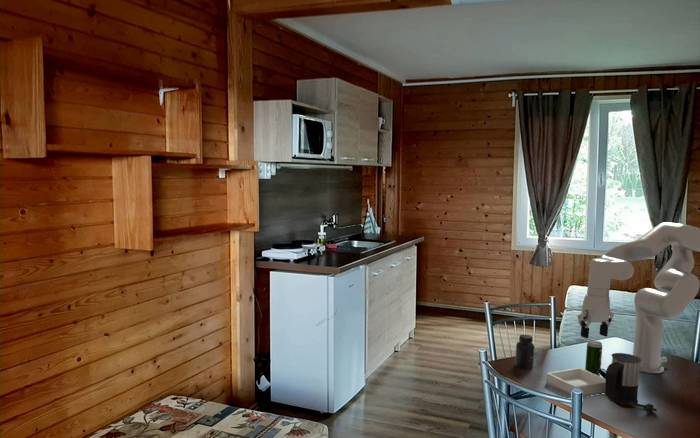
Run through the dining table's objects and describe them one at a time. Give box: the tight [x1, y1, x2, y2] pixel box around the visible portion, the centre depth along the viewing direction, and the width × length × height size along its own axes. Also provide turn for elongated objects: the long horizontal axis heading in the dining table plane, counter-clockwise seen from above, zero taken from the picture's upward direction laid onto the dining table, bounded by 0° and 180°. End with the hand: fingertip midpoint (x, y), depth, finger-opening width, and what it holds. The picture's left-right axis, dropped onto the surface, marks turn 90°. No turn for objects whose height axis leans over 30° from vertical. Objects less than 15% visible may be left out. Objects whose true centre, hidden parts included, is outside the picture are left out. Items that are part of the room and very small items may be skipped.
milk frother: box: [605, 352, 658, 414], centre depth 184 cm, size 14×16×15 cm
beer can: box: [584, 340, 603, 376], centre depth 212 cm, size 5×5×12 cm
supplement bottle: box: [514, 334, 535, 370], centre depth 217 cm, size 7×7×12 cm
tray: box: [545, 367, 606, 399], centre depth 197 cm, size 16×14×4 cm
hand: (593, 336), depth 211 cm, fingers open, 9 cm apart
